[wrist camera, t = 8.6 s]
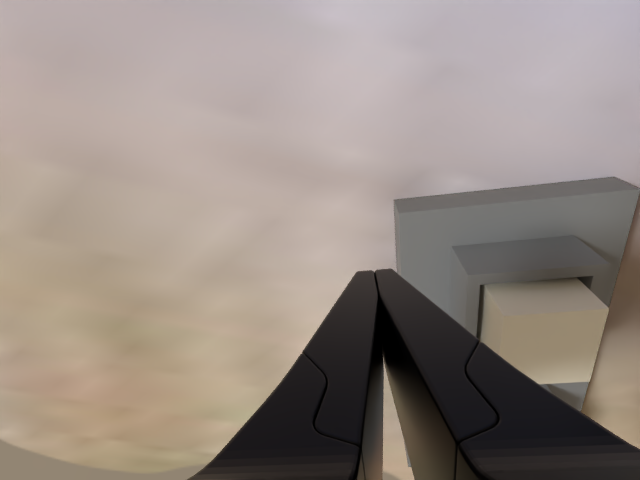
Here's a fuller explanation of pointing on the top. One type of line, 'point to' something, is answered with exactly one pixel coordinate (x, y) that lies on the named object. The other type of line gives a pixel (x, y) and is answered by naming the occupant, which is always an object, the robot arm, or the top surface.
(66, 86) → the top surface
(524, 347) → the beige cube
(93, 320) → the top surface
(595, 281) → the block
